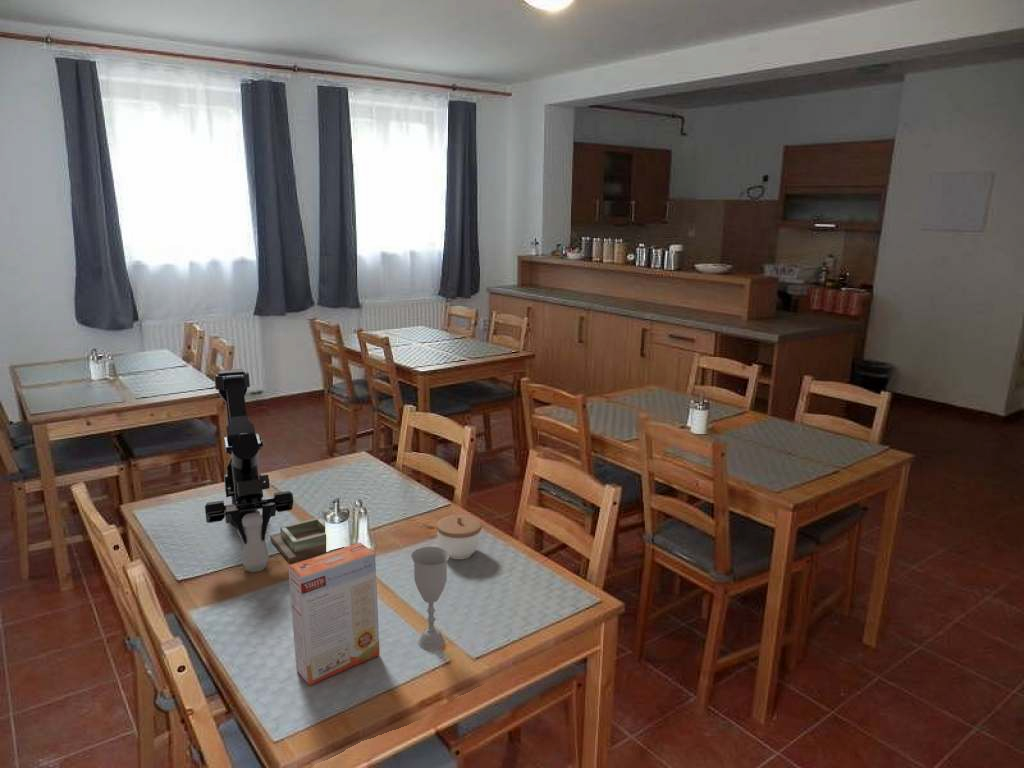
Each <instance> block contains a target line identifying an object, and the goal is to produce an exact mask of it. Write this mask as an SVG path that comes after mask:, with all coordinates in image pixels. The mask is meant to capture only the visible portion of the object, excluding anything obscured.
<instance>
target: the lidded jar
mask: <svg viewBox="0 0 1024 768" xmlns="http://www.w3.org/2000/svg"><path fill="white" fill-rule="evenodd" d="M482 529H483V523H482V520H481V519H480V518H478V517H476V516H473V515H470V514H463V513H462V514H460V513H459V514H457V513H456V514H450V515H446V516H444V517H441V518H440V519H439V520H438V521H437V523H436V530H437V532H436V533H437V540H438V545H439V548H441V549H444V550H446V551H447V552H448V553H449V559H452V560H466V559H468V558H470V557H472V555H473V554H474V553H475V552H476V551H477V549H478V548H479V546H480V544H481V538H482Z"/></svg>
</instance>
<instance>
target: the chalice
mask: <svg viewBox="0 0 1024 768" xmlns="http://www.w3.org/2000/svg"><path fill="white" fill-rule="evenodd" d="M410 556H411V560H412V561H413V570H414V571H413V572H414V573H413V574H414V576H413V577H414V578H413V580H414V582H415V585H416V588H417V590H418V592H419V594H420V596H421V598H422V600H423V601H424V602H425V603H427V604H428V607H427V609H426V612H427V614H428V616H427V618H426V621H427V622H428V626H427V627H426V628H424V629H423V630H422V632H421V633H420V636H419V638H418V641H417V643H418V644H417V645H418V646H419V647H420V648H421V649H422V650H426V649H428V650H427V651H431V650H432V649H434V650H438V649H439V648H441V647H443V646H444V645H445V642H446V640H445V638H444V636H443V634H442V632H441V630H440V629H439V628H438V627H436V626H434V624H435V621H436V620H437V618H436V617H435V616H434V614H435V612H436V608H435V607H434V604H435V603H436V602H438V601H439V598H440V597H441V595H442V593H443V591H444V589H445V587H446V583H447V580H448V579H447V578H448V572H447V563H448V560H450V557H449V553H448V552H447V551H446V550H444V549H441V547H436V546H424V547H420V548H417V549H416V550H413V552H412V553H411V555H410ZM432 651H433V650H432Z"/></svg>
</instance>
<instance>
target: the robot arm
mask: <svg viewBox="0 0 1024 768" xmlns="http://www.w3.org/2000/svg"><path fill="white" fill-rule="evenodd" d="M249 373H250V372H248V371H247V372H246V371H244V369H243V368H234V369H221V370H220V369H219V370H218V374H214V377H213V379H214V385H215V390H217V391H218V395H219V397H220V398H221V400H222V401H224V403H225V405H226V407H225V409H226V415H227V416H226V417H227V418H226V419H227V426H226V436H224V437H223V439H224V449H225V454H229V455H230V456H231V457H230V458H231V459H230V461H229V463H228V465H227V467H226V474H223V477H224V478H223V479H224V491H225V492H224V493H225V498H230V497H231V503H230V504H229V503H228V504H226V505H225V503H224V500H218V501H216V500H215V501H211V502H207V503H206V504H205V505H204V512H205V520H206V523H207V524H211V523H216V522H217V523H218V522H222V521H223V520H224V519H225V524H230V525H231V526H232V527H233V528H234V530H236V532H237V533H238V536H239V537H240V539H241V541H242V543H243V545H244V544H246V537H245V529H244V526H243V524H242V518H243V517H244V516H245V515H246V514H249V513H259V514H261V516H262V519H263V523H262V524H261V530H262V540H263V541H265V539H266V535H267V529H268V526H269V522H270V520H271V517H275V516H276V512H277V513H281V512H288V511H291V510H293V507H294V496H293V493H292V492H291V491H290V490H287V491H286V490H285V491H279V492H274V495H273V498H267V499H263V497H264V491H265V490H269V489H270V487H271V486H270V478H269V474H260V472H259V471H260V470H259V465H258V462H259V453H260V452H259V450H260V451H261V447H264V444H263V439H262V437H261V436H260V435H259V433H256V429H255V424H254V423H253V422H252V421H250V420H249V419H248V413H247V412H248V411H247V407H246V398H245V397H246V395H247V392H248V388H249V387H250V386H251V385H250V384H251V383H250V374H249ZM263 490H264V491H263ZM259 510H262V511H261V512H260V511H259Z"/></svg>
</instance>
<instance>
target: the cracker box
mask: <svg viewBox="0 0 1024 768" xmlns="http://www.w3.org/2000/svg"><path fill="white" fill-rule="evenodd" d="M376 565H377V564H376V552H374V551H373V550H371V549H370V548H369V547H368V546H366V545H365V544H364V543H361V542H358V543H355V544H351V545H349V546H348V545H347V547H345V548H341V549H338V550H334V551H330V552H327V553H323V554H320V555H316V556H313V557H310V558H307V559H306V560H305V559H303V560H302V561H301V560H300V561H297V562H294V563H292V564H289V565H288V566H287V568H288V570H287V571H288V580H289V581H288V582H289V595H290V607H291V617H292V618H291V619H292V630H293V631H292V632H293V642H294V654H295V655H294V656H295V666H296V667H295V668H296V671H297V672H298V674H299V675H300V676H301V678H302V679H303V680H304V681H305V682H306V684H307V685H308V686H312V685H314V684H316V683H319V682H321V681H324V680H325V679H328V678H330V677H332V676H335V675H336V674H337V675H338V674H339V673H341V672H343V671H345V670H348V669H350V668H352V667H355V666H357V665H359V664H362V663H363V662H366V661H369V660H371V659H374V658H376V657H378V656H379V655H380V650H381V649H380V633H379V610H378V609H379V607H378V606H379V605H378V589H377V588H378V587H377V586H378V585H377V568H376V567H377V566H376Z"/></svg>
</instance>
